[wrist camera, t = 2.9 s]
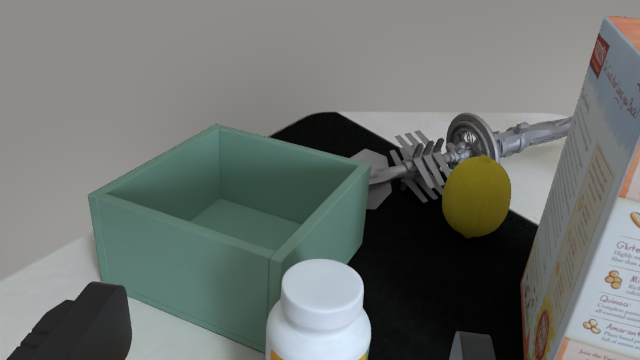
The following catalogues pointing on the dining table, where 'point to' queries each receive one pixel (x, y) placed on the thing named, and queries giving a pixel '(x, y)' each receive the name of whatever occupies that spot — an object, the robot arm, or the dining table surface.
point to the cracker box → (592, 219)
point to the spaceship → (451, 154)
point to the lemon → (476, 196)
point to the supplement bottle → (319, 314)
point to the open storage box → (227, 226)
